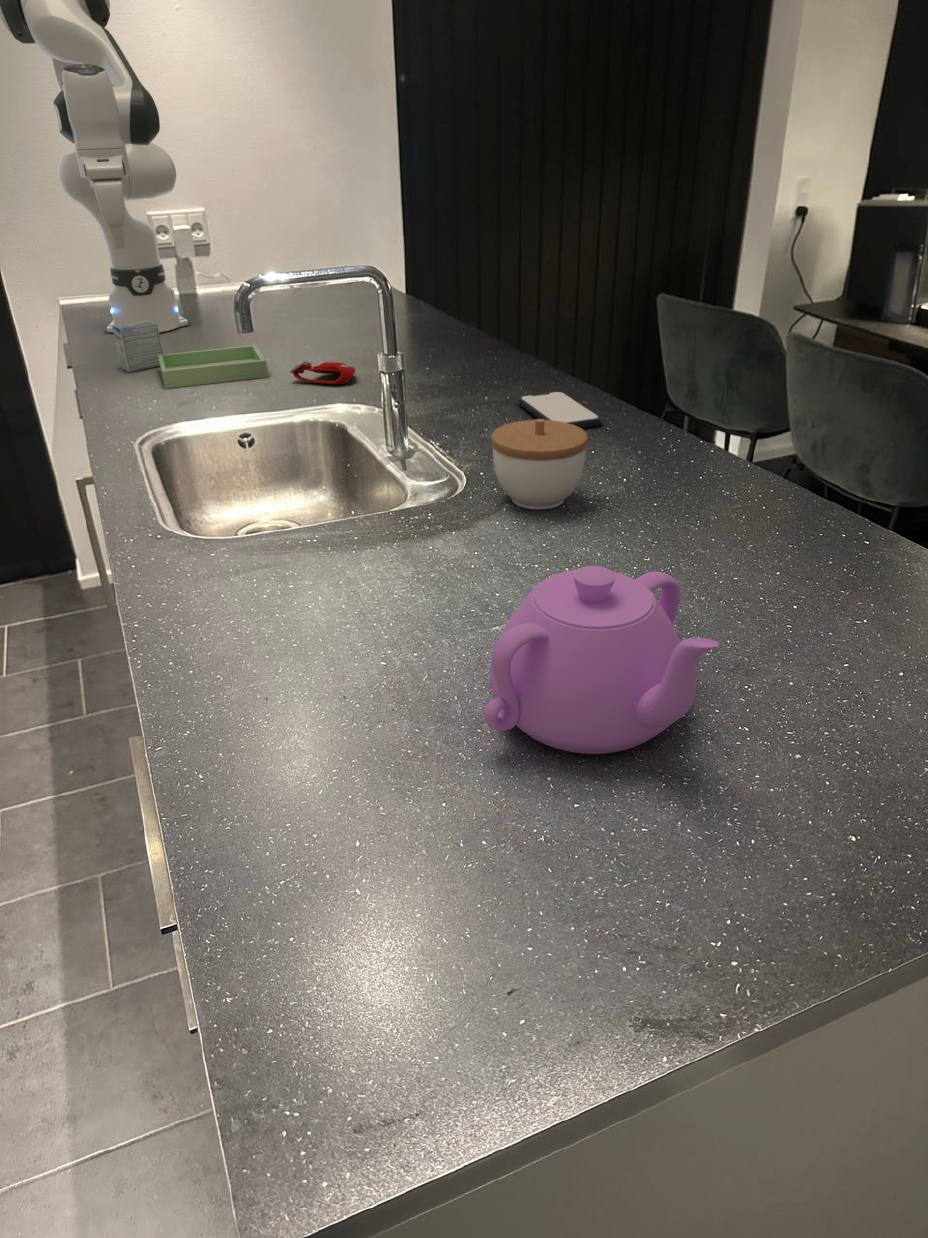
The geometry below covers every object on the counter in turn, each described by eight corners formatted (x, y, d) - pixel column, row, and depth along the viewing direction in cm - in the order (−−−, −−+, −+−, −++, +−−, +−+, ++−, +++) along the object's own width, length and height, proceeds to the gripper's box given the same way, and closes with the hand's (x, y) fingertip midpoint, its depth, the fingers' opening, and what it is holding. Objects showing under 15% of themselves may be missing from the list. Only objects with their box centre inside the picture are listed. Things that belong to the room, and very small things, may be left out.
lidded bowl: (558, 476, 130) (561, 400, 124) (601, 508, 119) (606, 427, 114) (477, 489, 126) (476, 412, 120) (514, 524, 116) (515, 441, 110)
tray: (160, 370, 184) (157, 354, 182) (257, 360, 189) (255, 344, 188) (165, 388, 173) (162, 371, 171) (267, 377, 178) (265, 360, 177)
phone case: (603, 427, 149) (561, 399, 162) (604, 418, 148) (561, 390, 161) (554, 434, 146) (516, 405, 159) (554, 425, 145) (516, 396, 158)
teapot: (597, 848, 66) (609, 694, 59) (431, 708, 81) (424, 573, 74) (786, 736, 77) (815, 594, 70) (608, 631, 92) (617, 507, 85)
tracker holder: (340, 364, 181) (367, 361, 173) (340, 387, 182) (367, 385, 174) (285, 360, 174) (310, 357, 166) (286, 384, 174) (311, 381, 167)
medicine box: (156, 361, 190) (148, 319, 186) (165, 365, 187) (157, 322, 183) (120, 368, 186) (111, 325, 182) (129, 372, 183) (120, 329, 179)
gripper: (86, 164, 176) (102, 240, 183) (85, 169, 159) (103, 253, 166) (120, 162, 178) (135, 238, 184) (123, 167, 161) (139, 250, 168)
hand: (120, 245), depth 175 cm, fingers open, 8 cm apart
